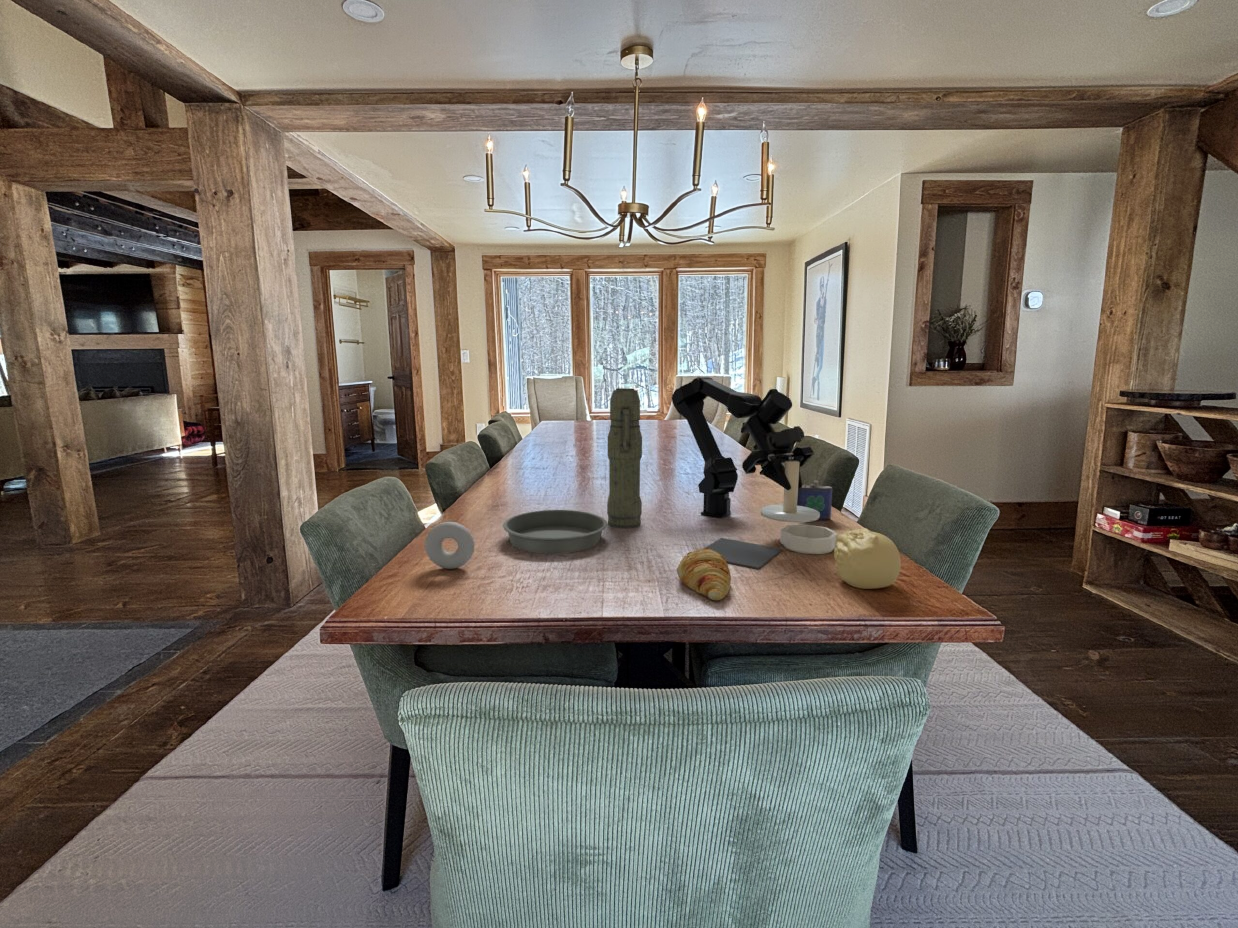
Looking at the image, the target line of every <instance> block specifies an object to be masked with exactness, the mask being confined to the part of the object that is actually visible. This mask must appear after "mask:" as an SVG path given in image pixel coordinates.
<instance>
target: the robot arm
mask: <svg viewBox="0 0 1238 928" xmlns="http://www.w3.org/2000/svg"><path fill="white" fill-rule="evenodd" d="M707 398H710V399H713V400H714V401H716V402H719V403H720V404H721V405H723V406H725V407H726V410H727V411H728V412H729V414H730V415H732V416H733V417H734V418H735V419H746V418H747V420H746V422H742V424H741V425H742V426H741V427H740V433H741V434H749V436H750V437H751V439H752V441H753V442H754V446H753V447H752V448H753V449H754V451H751V452H750V453H749V454H748V455H747V457H745V459H744V460H743V461H742V465H741V466H742V467H741V468H742V469H743V472H744V473H745V475H748V474H749V475H750V474H754V473H756V471H757V467H756V466H760V468H761V470H760V471H759V472H758V473H759V475H760V476H764V477H766V478H767V479H769V480H771V481H773V483H776V484H778V486H780V487H782V488H783V489H784V488H785V489H786V490H790V489H791V485H790V483H789V481H788V479H787V477H786V475H785V461H799V462H800V463H799V481H798V488H799V489H800V488H801V487H802V486H803V481H802V476H801V472H800V471H801V469H800V468H801V467H803V466H804V465H805V464H806V463H807V462H808V461H810V459H811V458H812V457H813V456H814V455H815V451H813V448H812V447H811V446H807V445H805V446H796V447H795V448H794V449H793V450H792V451H791V452H789V453H788V451H790V450H791V449H792V448H793V446H792V445H795V444H796V443H801V442H802V440H803V439H805V431H804V430H803V429H802V428H801V426H799V425H797V426H793V427H790V428H785V429H783V430H780V431H776V430H775V427H773V425H777V424H779V423H780V421H781V420H782V419H783V418H784V417H785V416H786V414H787V413H789V411H790V410H791V409H792V407H793V401H792V400H791V398H790V397H788V396H786V395H785V394H784V393H782V392H779V390H778V389H777V388H769V390H768V391H767V393H766V395H765V396H764V398H763V399H762V398H761V397H760V396H759V395H757V394H753V393H748V392H740V391H737V390H734V389H733V388H730V387H728V386H727V385H724V384H722V383H720V382H718V381H716V380H715V379H713V378H712V377H710V376H697V377H695V378H693V379H692V381H690V382H687V383H685V384H683V385H682V386H680V387H678V388H676V389H675V390H674V391H673V393H672V395H671V402H672V405H673V407H674V408H675V409H676V411H677V413H678V414H679V415H680V416H682V417H683V418H684V419H685V420H686V421H687V423H688V425H689V426H688V427H689V428H690V431H691V432H692V435H693V438H694V440H695V442H696V445H697V448H698V449H699V452H700V454H701V456H702V458H703V461H704V467H703V475H704V477H703V479H701V480H700V482H699V483H698V484H697V487H698V491H699V493H701V494H703V506H702V507H703V508H702V509H703V511H701V512H700V515H703V516H708V517H715V518H720V519H721V518H724V517H725V516H728V515H730V514H731V513H732V512H731V503H732V502H731V497H730V493H734V492H735V488H736V485H737V483H738V478H739V475H738V472H737V471H738V468H737V467H736V465H735V463H734V459H733V458H732V457H731V456H729V457H725V456H723V455H722V453H721V451H720V448H719V446H718V444H717V442H716V439H715V437H714V434H713V432H712V430H711V428H710V425H709V423H708V421H707V419H706V416H705V414H704V407H705V406H704V405H705V400H706V399H707ZM782 466H783V467H784V468H783V467H782Z"/></svg>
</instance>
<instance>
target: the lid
mask: <svg viewBox="0 0 1238 928" xmlns="http://www.w3.org/2000/svg"><path fill="white" fill-rule="evenodd" d="M799 463H800V462H799V461H785V475H786V477H787V479H788V481H789V483H790V485H791V489H790V490H786V489H785V488H783V500H782V501H783V502H782V503H783V504H770V505H766V506H763V507H761V508H760V510H759V511H760V512H759V513H760V515H761V516H762V517H763V518H766V519H769V520H773V521H779V522H784V523H811V522H815V521H819V520H818V519H819V518H820V513H819V512H818V511H817V510H815V509H812V508H808V507H803V506H797V499H798V481H799Z"/></svg>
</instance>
